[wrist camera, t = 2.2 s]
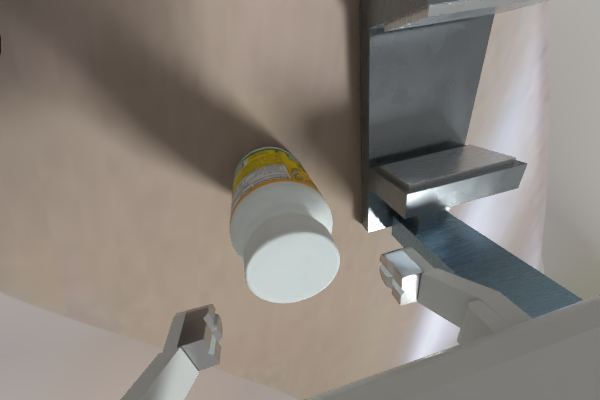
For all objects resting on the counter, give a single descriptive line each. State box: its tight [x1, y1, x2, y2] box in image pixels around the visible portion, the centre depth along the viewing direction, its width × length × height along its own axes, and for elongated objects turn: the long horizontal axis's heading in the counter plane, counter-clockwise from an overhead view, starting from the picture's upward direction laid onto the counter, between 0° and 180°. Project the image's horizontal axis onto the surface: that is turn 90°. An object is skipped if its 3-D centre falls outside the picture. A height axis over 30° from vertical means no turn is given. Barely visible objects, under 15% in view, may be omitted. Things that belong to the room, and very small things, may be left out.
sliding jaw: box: [369, 145, 583, 318], centre depth 18 cm, size 9×10×12 cm
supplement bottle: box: [230, 147, 340, 303], centre depth 16 cm, size 6×6×11 cm
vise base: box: [360, 0, 549, 232], centre depth 18 cm, size 20×10×7 cm, turn 8°
